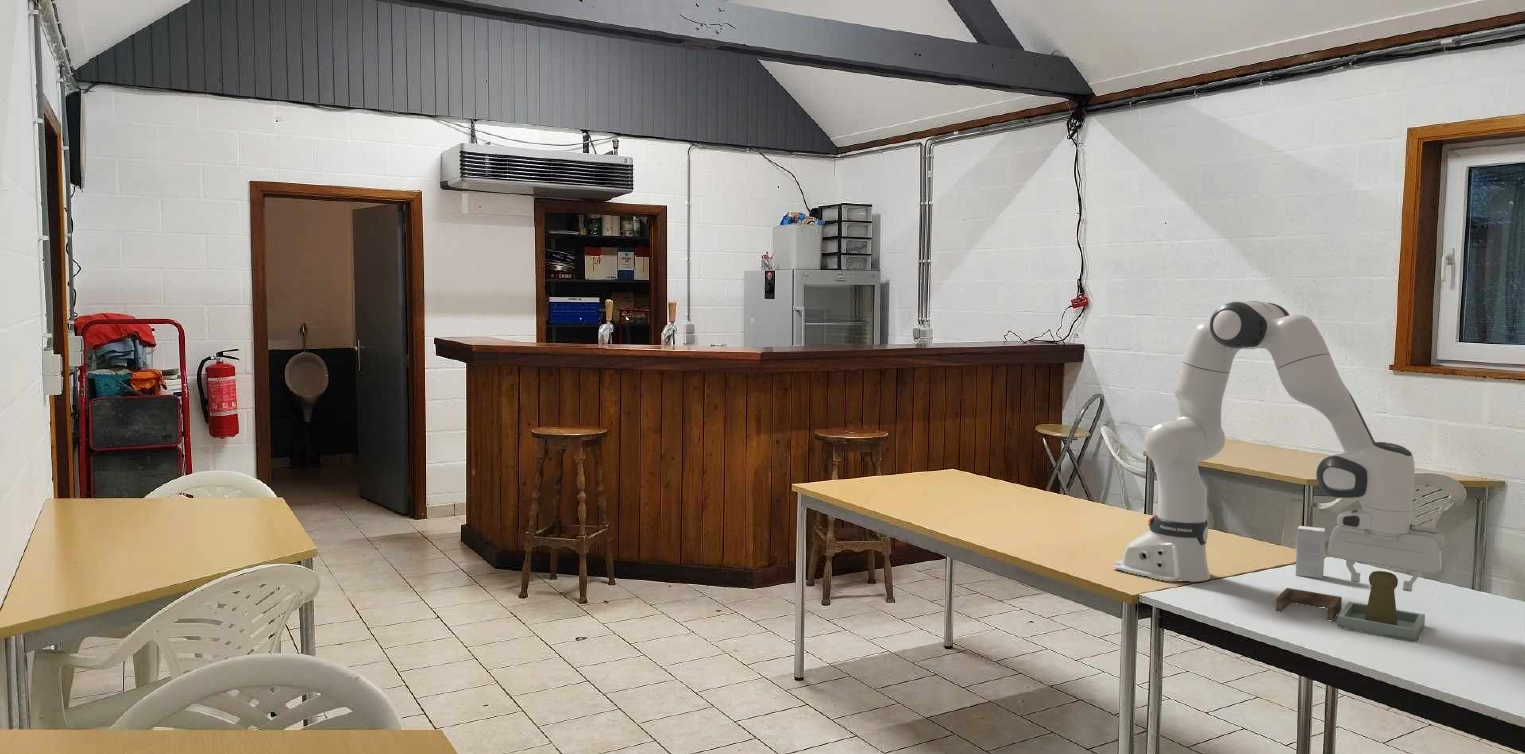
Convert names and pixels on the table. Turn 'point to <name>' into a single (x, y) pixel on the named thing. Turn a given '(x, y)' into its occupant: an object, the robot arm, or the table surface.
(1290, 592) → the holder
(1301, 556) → the skincare box
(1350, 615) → the tray
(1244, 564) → the table surface
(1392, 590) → the brown knobbed cone
